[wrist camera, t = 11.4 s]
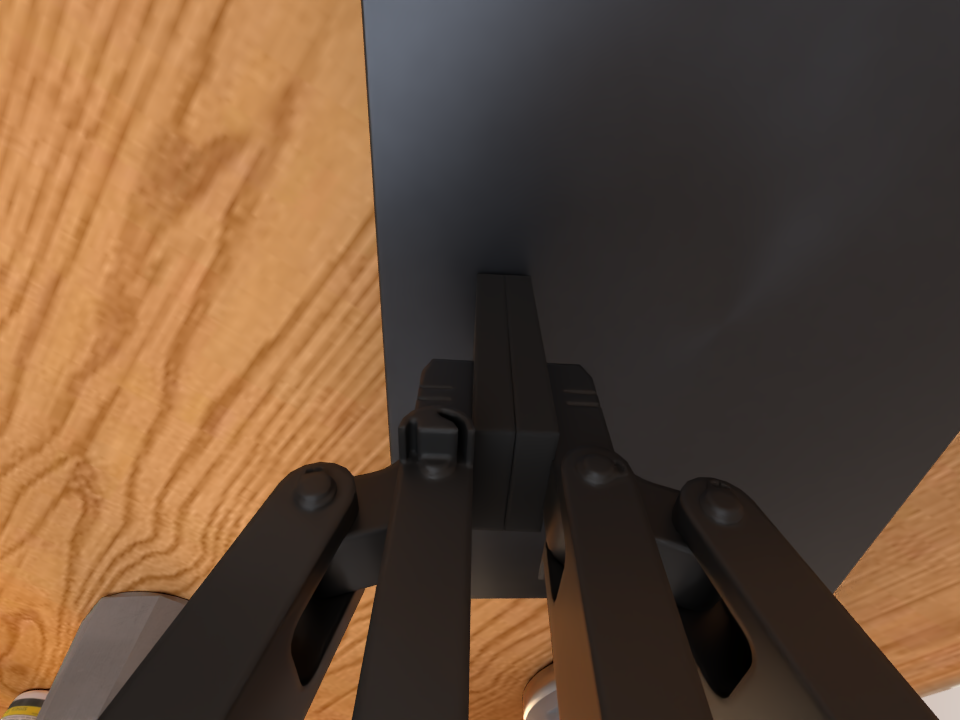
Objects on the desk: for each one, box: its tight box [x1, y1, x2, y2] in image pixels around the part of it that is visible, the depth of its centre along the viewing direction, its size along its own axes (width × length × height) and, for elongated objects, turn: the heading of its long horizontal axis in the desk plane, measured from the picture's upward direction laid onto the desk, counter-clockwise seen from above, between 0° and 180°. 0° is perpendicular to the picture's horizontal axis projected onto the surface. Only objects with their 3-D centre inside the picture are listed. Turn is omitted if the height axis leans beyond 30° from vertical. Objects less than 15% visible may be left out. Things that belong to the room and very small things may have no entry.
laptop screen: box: [361, 0, 960, 599], centre depth 16 cm, size 21×30×1 cm
